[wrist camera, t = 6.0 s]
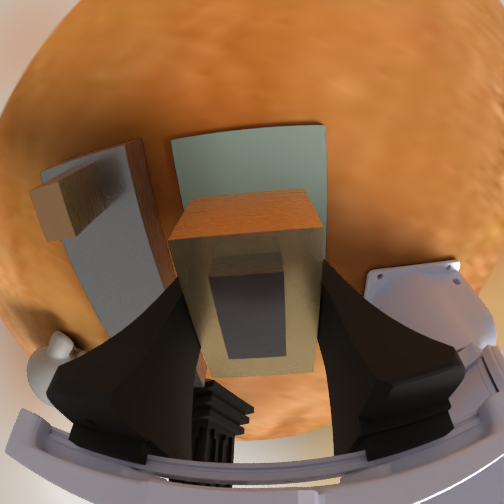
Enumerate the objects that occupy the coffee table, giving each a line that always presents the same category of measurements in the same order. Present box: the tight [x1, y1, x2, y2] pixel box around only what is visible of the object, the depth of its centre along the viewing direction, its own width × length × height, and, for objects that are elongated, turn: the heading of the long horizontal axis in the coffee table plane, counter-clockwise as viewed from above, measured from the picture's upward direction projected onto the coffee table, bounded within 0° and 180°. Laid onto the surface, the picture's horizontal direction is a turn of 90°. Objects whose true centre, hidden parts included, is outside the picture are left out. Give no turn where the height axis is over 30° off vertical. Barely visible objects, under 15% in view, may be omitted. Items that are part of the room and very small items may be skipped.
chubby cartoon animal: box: [27, 331, 87, 407], centre depth 23 cm, size 7×12×8 cm, turn 123°
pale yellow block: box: [168, 188, 324, 377], centre depth 11 cm, size 7×4×4 cm, turn 6°
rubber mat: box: [171, 125, 327, 259], centre depth 17 cm, size 9×11×1 cm
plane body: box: [30, 138, 207, 387], centre depth 18 cm, size 22×7×6 cm, turn 6°
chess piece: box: [169, 380, 254, 488], centre depth 22 cm, size 8×8×20 cm
